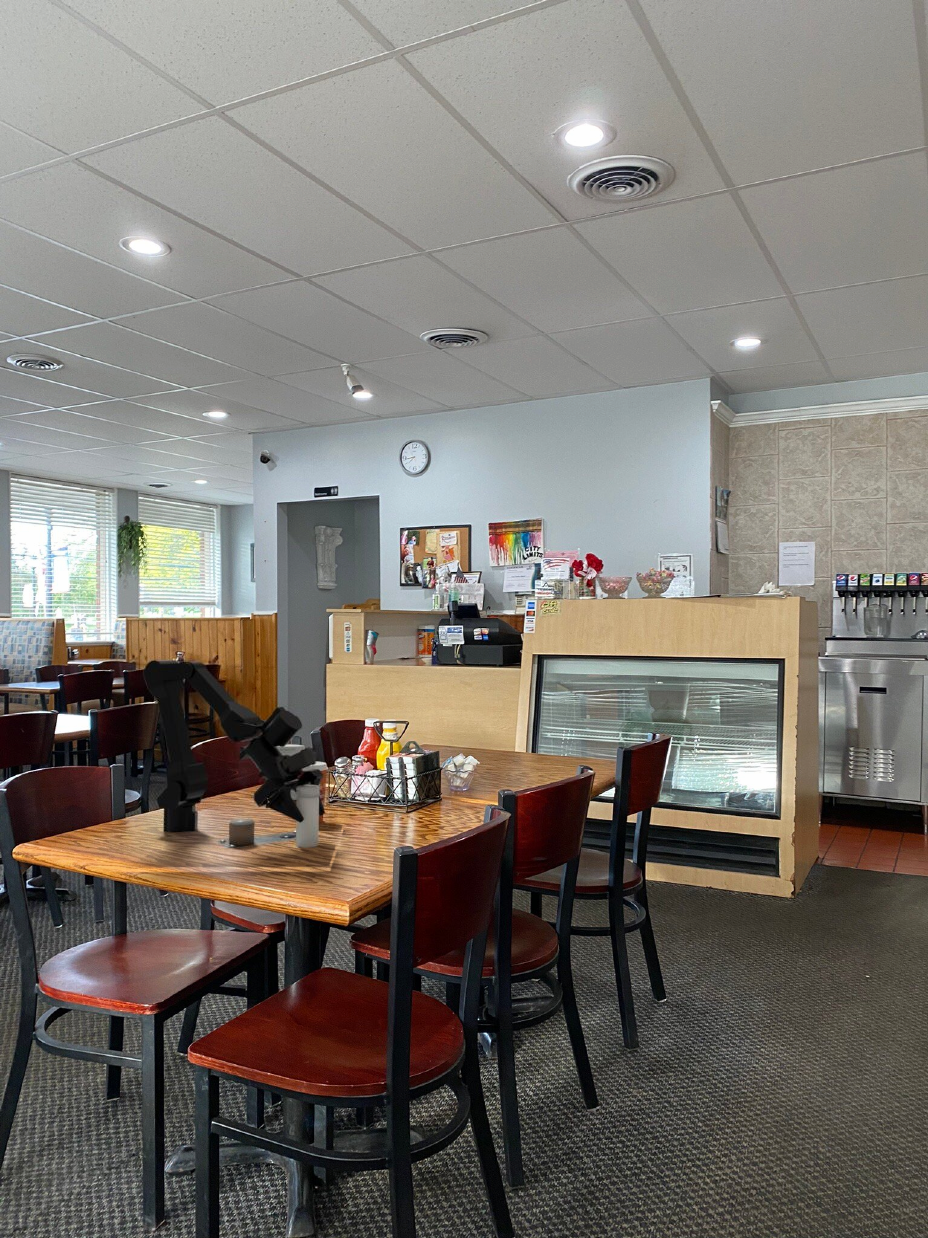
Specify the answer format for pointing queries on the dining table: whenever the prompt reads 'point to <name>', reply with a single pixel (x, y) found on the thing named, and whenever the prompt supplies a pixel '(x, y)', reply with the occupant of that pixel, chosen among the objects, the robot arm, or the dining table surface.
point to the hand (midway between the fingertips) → (313, 817)
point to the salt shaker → (308, 816)
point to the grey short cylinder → (241, 831)
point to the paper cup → (322, 785)
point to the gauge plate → (263, 839)
